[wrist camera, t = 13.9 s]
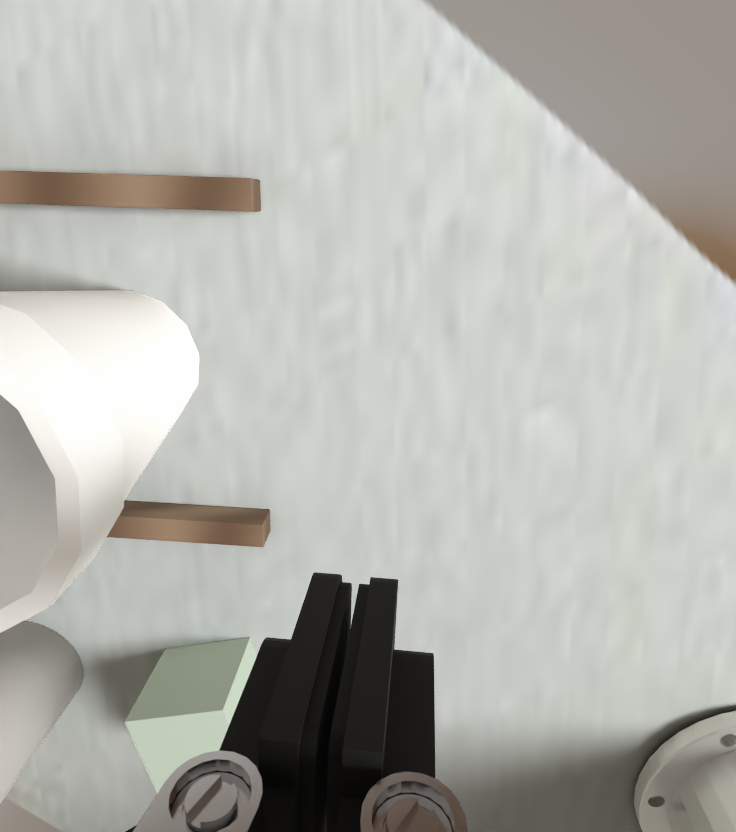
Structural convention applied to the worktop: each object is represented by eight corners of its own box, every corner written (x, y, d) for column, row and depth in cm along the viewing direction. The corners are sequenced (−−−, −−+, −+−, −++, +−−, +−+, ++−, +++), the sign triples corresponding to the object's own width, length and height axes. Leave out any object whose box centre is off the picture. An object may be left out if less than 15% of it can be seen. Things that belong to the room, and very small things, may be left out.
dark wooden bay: (259, 180, 24) (250, 178, 22) (270, 530, 29) (263, 546, 28) (-87, 169, 25) (-117, 167, 23) (-13, 512, 30) (-33, 527, 29)
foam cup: (151, 212, 25) (-107, 217, 12) (272, 394, 27) (157, 549, 15) (-9, 324, 27) (-363, 422, 15) (116, 484, 29) (-97, 684, 17)
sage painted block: (250, 636, 32) (222, 710, 27) (275, 706, 33) (252, 788, 29) (165, 647, 33) (124, 721, 28) (193, 716, 34) (158, 797, 29)
